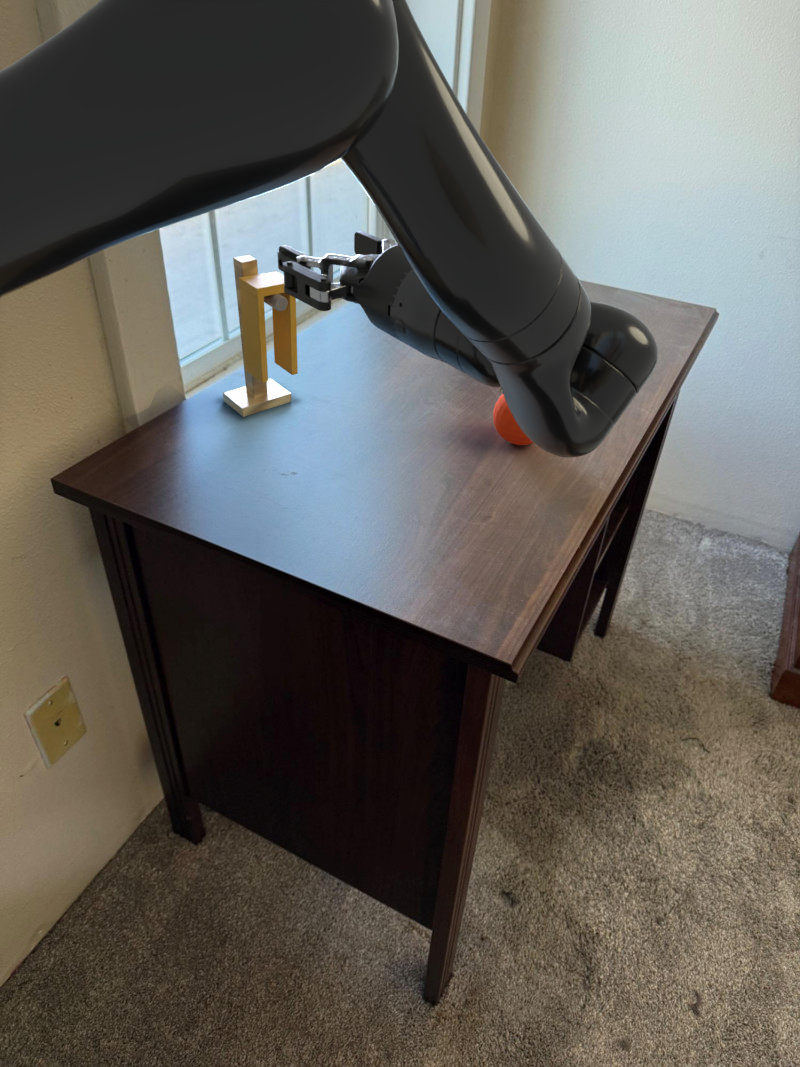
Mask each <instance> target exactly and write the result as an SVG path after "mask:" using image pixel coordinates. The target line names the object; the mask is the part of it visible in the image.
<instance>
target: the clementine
mask: <svg viewBox="0 0 800 1067" xmlns="http://www.w3.org/2000/svg"><path fill="white" fill-rule="evenodd" d="M499 392H502V389H501V388H500V390H499ZM492 420H493V425H494V428H495V431H496V432H497V433H498V435H499V436H500V437H501V438H502V439H503V440H505V441H506V442H508V443H510V444H512V445H516V446H527V445H531V444H534V443H533V442H532V441H531V440H530V439H529V438H528V437H527V436H526V435H525V434H524V432H523V431H522V430H521V428H520V427H519V426H518V424H517V422H516V421H515V419H514V417H513V415H512V413H511V411H510V409H509V407H508V405H507V403H506V400H505V397H504V395H503V393H502V394H501V395H500V396H499V398H498V399H497V400H496V402H495V404H494V407H493V411H492Z"/></svg>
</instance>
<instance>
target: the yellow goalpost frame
mask: <svg viewBox="0 0 800 1067" xmlns="http://www.w3.org/2000/svg"><path fill="white" fill-rule="evenodd" d="M239 286H240V300H241V314H242V328H243V342H244V356H245V370H246V371H247V372H249V373H250V374H251V375H253V376H254V377H255V378H257V379H258V380H259V381H261V382H262V383H264V382H268V379H269V375H268V374H269V371H268V370H269V369H268V354H267V352H268V351H267V334H266V333H267V332H266V315H265V314H266V313H265V302H264V296H269V295H274V294H280V295H282V296H283V297H285V298H286V299H287V302H288V305H287V307H286V309H285V310H283V311H278V310H276V309H274V308H273V307H271V312H272V313H271V314H272V330H273V331H272V333H273V334H272V335H273V355H274V358H273V359H274V363H275V364H276V365H277V366H279V367H280V368H281V369H283V370H284V371H286V372H287V373H288V374H290V375H292V376H294V375H297V374H298V372H299V371H298V370H299V369H298V368H299V367H298V335H297V334H298V333H297V331H298V330H297V329H298V328H297V299H296V298H295V297H293V296H291V295H289V294H287V293H285V292H284V273H281V272H279V271H277V270H273V271H268V272H261V273H258V274H256V275H251V276H245V277H240V278H239Z"/></svg>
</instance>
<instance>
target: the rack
mask: <svg viewBox="0 0 800 1067" xmlns="http://www.w3.org/2000/svg"><path fill="white" fill-rule="evenodd" d="M232 261H233V262H232V263H233V272H234V282H235V292H236V302H237V311H238V313H237V314H238V322H239V323H238V324H239V331H240V332H239V334H240V342H241V351H242V352H241V353H242V362H243V371H244V383H245V385H243V386H240V387H237V388H233V389H231V390H227V391H224V392H222V397H223V402H224V403H226V404H227V405H228V406H229V407H230V408H232V409H233V410H234V411H235V412H237V413H238V414H239V415H240V416H241V417H242V418H245V417H248V416H251V415H255V414H257V413H261V412H263V411H264V412H265V411H266V410H267V411H268V410H269V409H272V408H276V407H279V406H282V405H285V404H289V403H291V402H292V399H293V398H292V392H290V391H289V390H287V389H286V388H285V387H283V386H282V385H280V384H279V383H278V382H277V381H275V380H274V379H273V378H268V382H264V383H262V382H261V381H259V380H258V379H257V378H255V377H254V376H253V375H251V374H250V373H249V372H247V371H246V370H245V356H244V342H243V328H242V314H241V300H240V286H239V278H240V277H245V276H251V275H256V274H259V269H258V268H259V267H258V259H257V258H254V257H253V256H251V255H250V254H246V255H240V256H234V257H232ZM264 304H266V305H267V306H269V307H271V308H272V307H273V308H274V309H276V310H278V311H283V310H285V309H286V307H287V305H288V302H287V299H286V298H285V297H283V296H282V295H280V294H274V295H269V296H264Z"/></svg>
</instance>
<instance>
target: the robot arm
mask: <svg viewBox="0 0 800 1067" xmlns="http://www.w3.org/2000/svg"><path fill="white" fill-rule="evenodd" d="M338 160H341V161H342V162H343V164H344V165H345V166H346V167H347V169H348V170H349V171H350V172H351V174H352V175H353V176H354V178H355V179H356V181H357V182H358V183H359V185H360V186H361V187H362V189H363V190H364V192H365V193H366V194H367V197H368V198H369V199H370V201H371V202H372V204H373V206H374V207H375V209H376V210H377V212H378V213H379V215H380V216H381V218H382V219H383V222H384V223H385V224H386V226H387V228H388V229H389V232H390V233H391V235H392V236H393V238H394V239H392V238H384V239H382V238H379V237H378V236H375V235H372V234H370V233H368V232H366V231H364V230H360V231H355V233H354V235H353V236H354V237H353V252H354V254H355V256H353V255H352V256H351V255H344V254H338V253H337V254H336V253H331V252H330V253H326V254H325V255H324V256H323V257H315V256H309V255H307V254H306V253H304V252H302V251H299V250H298V249H296V248H295V247H292V246H290V245H288V244H284V245H281V246H279V247H278V251H276V252H277V268H278V270H279V271H281V272H283V275H284V292H285V293H287V294H289V295H291V296H293V297H295V298H296V300H299V301H300V302H302V303H304V304H306V305H308V306H310V307H312V308H314V309H316V310H317V311H320V312H328V311H330V310H331V309H332V301H335V300H338V299H341V300H344V301H346V302H349V303H350V302H351V303H354V304H357V305H359V306H360V307H361V308H362V310H363V312H364V313H365V315H366V317H367V318H368V320H369V321H370V323H371V324H372V325H374V326H375V327H376V328H377V329H379V330H381V331H382V332H384V333H385V334H387V335H389V336H391V337H393V338H394V339H396V340H398V341H400V342H401V343H403V344H404V345H406V346H409V347H410V348H412V349H414V350H415V351H417V352H419V353H421V354H423V355H425V356H427V357H429V358H431V359H434V360H436V361H440V362H442V363H445V364H447V365H448V366H450V367H452V368H454V369H455V370H457V371H459V372H461V373H462V374H464V375H465V376H468V377H469V378H471V379H473V380H474V381H476V382H478V383H480V384H482V385H485V386H487V387H490V388H500V390H501V389H502V390H501V392H502V394H503V395H504V397H505V400H506V403H507V405H508V407H509V409H510V411H511V413H512V415H513V417H514V419H515V421H516V422H517V424H518V426H519V427H520V428H521V430H522V431H523V432H524V434H525V435H526V436H527V437H528V438H529V439H530V440H531V441H532V442H533V443H532V444H534V445H535V446H537V447H538V448H539V449H541V450H543V451H544V452H546V453H548V454H550V455H552V456H554V457H555V456H556V457H560V458H565V459H566V458H567V459H570V458H572V459H573V458H580V457H583V456H586V455H588V454H590V453H592V452H593V451H595V450H596V449H597V448H598V447H599V446H600V445H601V444H602V443H603V442H604V441H605V439H606V438H607V437H608V436H609V434H610V432H611V431H612V430H613V428H614V426H615V425H616V424H617V423H618V422H619V420H620V419H621V417H622V416H623V415H624V413H625V411H626V410H627V409H628V408H629V406H630V405H631V403H632V402H633V401H634V400H635V397H636V396H637V394H638V393H639V392H640V391H641V389H642V388H643V387H644V386H645V384H646V383H647V381H648V380H649V379H650V377H651V376H652V374H653V372H654V370H655V369H656V367H657V363H658V360H659V348H658V345H657V341H656V339H655V337H654V335H653V333H652V332H651V330H650V329H649V327H648V326H647V325H646V323H645V322H643V321H642V320H641V319H640V318H638V316H636V315H634V314H633V313H631V312H629V311H627V310H625V309H623V308H620V307H618V306H615V305H611V304H608V303H604V302H600V301H590V297H589V295H588V293H587V291H586V289H585V287H584V286H583V284H582V282H581V280H580V279H579V278H578V276H577V275H576V274H575V272H574V270H573V269H572V268H571V266H570V264H569V263H568V261H567V260H566V259H565V257H564V256H563V254H562V253H561V251H560V250H559V248H558V247H557V245H556V244H555V243H554V241H553V239H552V238H551V237H550V235H549V234H548V232H547V231H546V230H545V228H544V227H543V225H542V224H541V223H540V221H539V219H538V218H537V217H536V216H535V214H534V212H533V211H532V210H531V208H530V207H529V205H528V204H527V203H526V201H525V199H524V198H523V196H522V195H521V194H520V193H519V191H518V189H517V188H516V187H515V185H514V184H513V182H512V181H511V180H510V178H509V177H508V176H507V173H506V172H505V170H504V169H503V168H502V166H501V165H500V163H499V162H498V160H497V159H496V157H495V156H494V154H493V153H492V151H491V150H490V148H489V147H488V145H487V144H486V142H485V140H483V138H482V136H481V134H479V132H478V130H477V129H476V127H475V125H474V124H473V122H472V120H471V119H470V118H469V116H468V114H467V113H466V111H465V109H464V108H463V106H462V104H461V102H460V101H459V99H458V97H457V96H456V94H455V92H454V91H453V88H452V87H451V85H450V83H449V81H448V80H447V78H446V76H445V74H444V72H443V71H442V69H441V66H439V63H438V62H437V60H436V58H435V56H434V54H433V52H432V51H431V49H430V47H429V44H428V43H427V41H426V39H425V37H424V36H423V34H422V31H421V29H420V27H419V25H418V24H417V22H416V20H415V17H414V15H413V13H412V11H411V9H410V6H409V4H408V2H407V0H98V1H96V3H95V4H94V5H93V6H91V7H90V8H89V9H88V10H86V11H85V12H84V13H82V14H81V15H79V17H77V18H75V20H74V21H73V22H71V23H70V24H68V25H67V26H66V27H64V28H63V29H62V30H60V31H58V32H57V33H55V34H54V35H53V36H51V37H50V38H48V39H47V40H45V41H44V42H42V43H41V44H39V45H38V46H36V47H35V48H34V49H32V50H31V51H29V52H27V54H25V55H24V56H22V57H21V58H19V59H18V60H16V61H15V62H13V63H11V64H9V65H8V66H6V67H5V68H2V69H0V299H1V298H3V297H5V296H7V295H9V294H12V293H14V292H16V291H18V290H20V289H22V288H25V287H27V286H29V285H31V284H34V283H36V282H38V281H41V280H43V279H45V278H48V277H50V276H52V275H54V274H56V273H59V272H60V271H62V270H64V269H67V268H69V267H71V266H74V265H75V264H77V263H79V262H82V261H83V260H86V259H88V258H90V257H92V256H94V255H96V254H98V253H101V252H103V251H105V250H108V249H109V248H112V247H114V246H117V245H119V244H122V243H124V242H127V241H130V240H132V239H134V238H138V237H140V236H144V235H147V234H148V233H152V232H154V231H157V230H160V229H164V228H166V227H169V226H172V225H175V224H178V223H181V222H184V221H187V220H190V219H193V218H196V217H199V216H202V215H204V214H208V213H210V212H214V211H217V210H219V209H223V208H226V207H229V206H232V205H234V204H237V203H240V202H243V201H247V200H249V199H253V198H256V197H258V196H262V195H264V194H267V193H270V192H272V191H275V190H278V189H281V188H283V187H285V186H289V185H291V184H294V183H296V182H298V181H301V180H303V179H305V178H308V177H309V176H312V175H314V174H316V173H318V172H320V171H321V170H323V169H325V168H326V167H328V166H330V165H331V164H333V163H335V162H336V161H338ZM334 266H340V267H339V279H338V280H339V282H334ZM312 268H315V269H316V268H317V269H319V270H320V273H318V272H317V271H314V270H312Z"/></svg>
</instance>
